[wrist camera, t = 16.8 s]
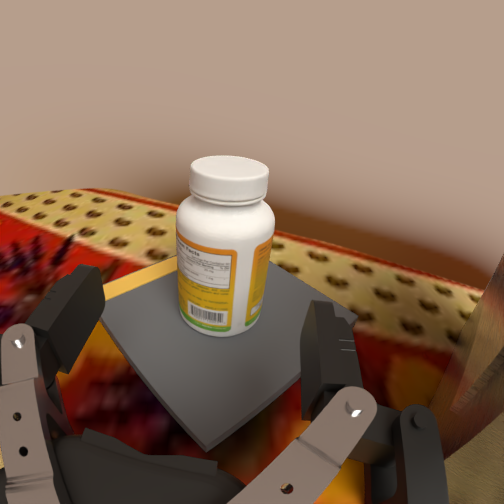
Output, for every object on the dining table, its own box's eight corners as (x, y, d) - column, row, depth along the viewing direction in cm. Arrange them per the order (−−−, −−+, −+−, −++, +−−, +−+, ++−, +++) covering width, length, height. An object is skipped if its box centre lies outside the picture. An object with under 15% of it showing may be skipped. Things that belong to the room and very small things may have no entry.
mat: (88, 302, 21) (85, 291, 20) (227, 244, 30) (228, 234, 29) (206, 452, 13) (205, 445, 12) (354, 325, 22) (358, 315, 21)
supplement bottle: (239, 278, 24) (253, 150, 19) (274, 326, 20) (304, 180, 15) (169, 292, 22) (166, 154, 16) (194, 349, 18) (194, 188, 12)
